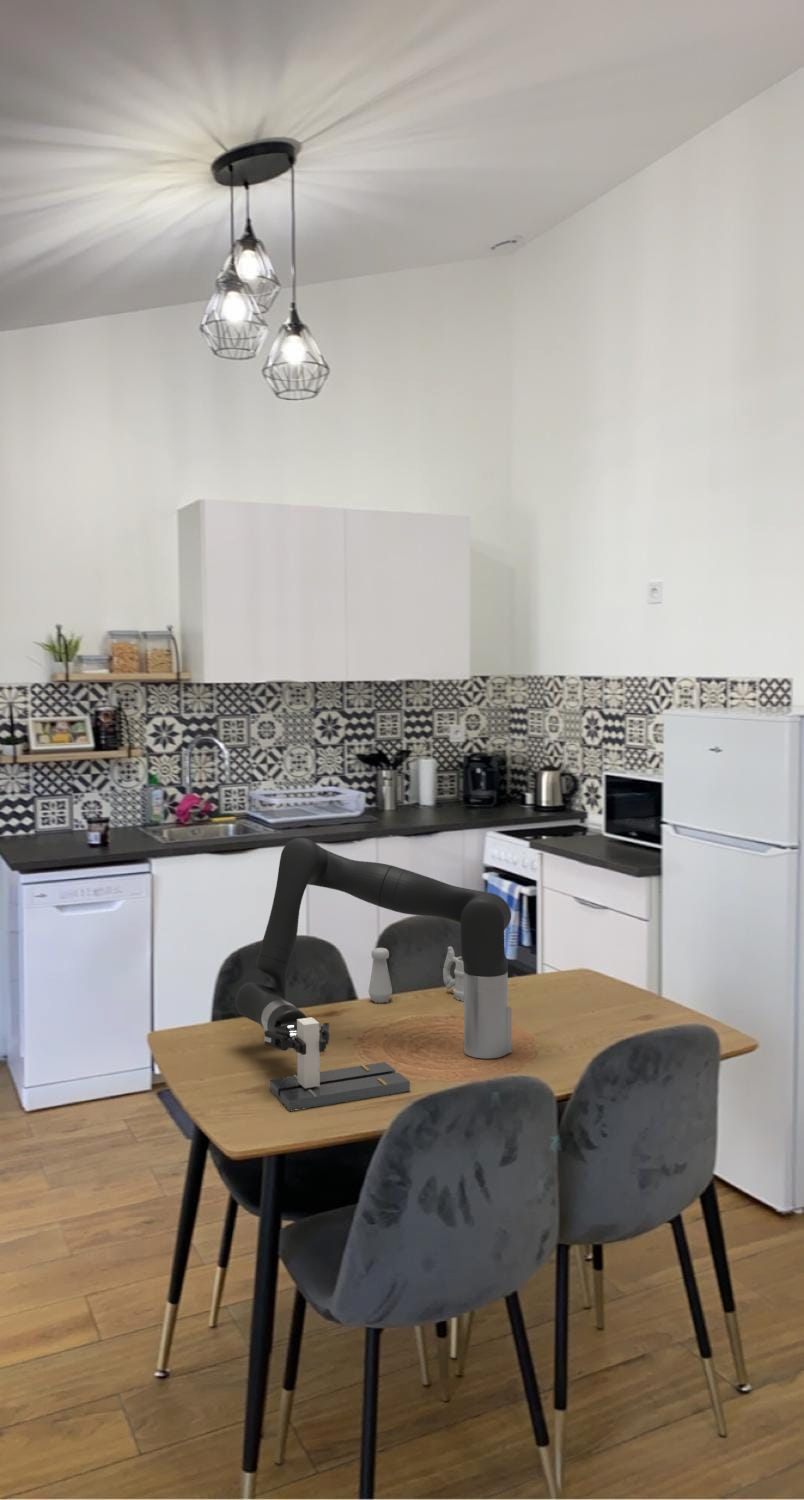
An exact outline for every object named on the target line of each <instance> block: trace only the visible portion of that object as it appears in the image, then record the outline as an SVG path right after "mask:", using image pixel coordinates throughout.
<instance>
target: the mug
mask: <svg viewBox="0 0 804 1500" xmlns="http://www.w3.org/2000/svg"><path fill="white" fill-rule="evenodd" d="M453 963H455V969H454V971H453V972H454V973H453V974H454V976H455V978H453V976H452V975H451V967H452V965H453ZM442 976H443V979H442V980H443V983H444V984H445V987H446V989H447V990H450V989H453V992H452V994H453V995H454V999H455V1000H456V999H457V1000H456V1001H458V1000H460V1001H461V1002H464V964H463V960H462V956H458V957H456V955H455V950H454V948H453V946H448V947H447V954H446V957H445V961H444V964H443V969H442ZM453 986H454V988H453Z"/></svg>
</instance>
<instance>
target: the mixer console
mask: <svg viewBox="0 0 804 1500" xmlns="http://www.w3.org/2000/svg"><path fill="white" fill-rule="evenodd" d="M410 1084H411V1082H410V1080H409V1079H408V1078H407V1077H405V1076H404V1075H402V1074H401V1073H400V1072H396V1069H395V1068H393V1067H392V1066H391V1065H390V1064H388V1063H387V1062H385V1061H382V1062H377V1063H369V1064H363V1063H362V1064H359V1065H358V1066H357V1065H356V1066H350V1067H345V1068H337V1069H331V1070H330V1069H329V1070H324V1071H323V1070H322V1071H320V1086H317V1087H311V1088H304V1087H303V1086H302V1085H301V1084H300V1083H299V1082H298V1075H297V1074H293V1075H292V1076H285V1077H280V1078H272V1079H269V1091H270V1093H272V1094H273V1095H274V1096H275V1098H276V1099H279V1100H280V1101H281V1102H282V1103H283V1104H284V1105H283V1104H282V1103H281V1102H280V1101H279V1100H278V1101H279V1102H280V1103H281V1104H282V1105H283V1106H284V1107H285V1108H286V1107H287V1108H288V1109H287V1108H286V1109H287V1111H288V1112H292V1111H291V1110H295V1109H302V1110H304V1109H303V1108H308V1109H311V1108H310V1107H314V1108H319V1107H318V1106H320V1107H324V1106H325V1105H326V1106H331V1105H330V1104H332V1105H336V1104H335V1103H338V1104H342V1103H341V1102H344V1103H347V1102H346V1101H350V1102H353V1101H352V1100H356V1101H360V1100H359V1099H362V1100H365V1099H364V1098H368V1099H371V1098H370V1097H374V1098H377V1097H378V1096H380V1097H384V1096H390V1095H389V1094H391V1095H395V1094H394V1093H397V1094H402V1093H401V1092H403V1093H407V1092H406V1091H409V1092H411V1085H410ZM378 1098H379V1097H378Z"/></svg>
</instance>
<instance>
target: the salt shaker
mask: <svg viewBox="0 0 804 1500" xmlns="http://www.w3.org/2000/svg"><path fill="white" fill-rule="evenodd" d="M370 955H371V958H372V959H373V962H372V969H371V975H370V981H369V987H368V995H369V998H370V999H371V1002H373V1001H374V1002H375V1004H384V1003H383V1002H386V1003H388V1002H389V1001H390V998H391V996H392V994H393V989H392V987H393V986H392V983H391V978H390V972H389V969H388V968H389V967H388V963H387V962H388V961H387V959H389V957H390V952H389V950H388V949H387V948H384V947H377V948H376V947H375V948H373V949H372V950H371V954H370ZM387 1001H388V1002H387ZM374 1002H373V1003H374ZM377 1002H378V1003H377ZM381 1002H382V1003H381Z"/></svg>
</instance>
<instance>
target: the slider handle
mask: <svg viewBox="0 0 804 1500" xmlns="http://www.w3.org/2000/svg"><path fill="white" fill-rule="evenodd" d="M319 1027H320V1022H318V1021H317V1020H316V1019H315V1018H314V1017H307V1018H303V1019H297V1036H298V1038H300V1039H301V1040H302V1041H304V1042H305V1043H306V1054H305V1055H301V1054H300V1053H298V1052H296V1053H297V1055H296V1057H297V1058H296V1059H297V1076H298V1082H299V1083H300V1084H301V1085H302V1086H303V1087H304V1088H311V1087H317V1086H320V1072H321V1070H320V1069H321V1068H320V1067H321V1066H320V1061H321V1060H320V1057H321V1056H320V1052H319Z"/></svg>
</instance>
